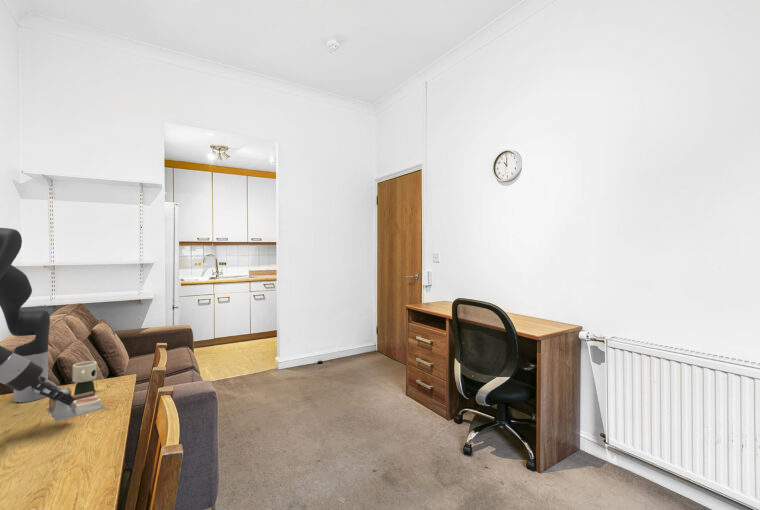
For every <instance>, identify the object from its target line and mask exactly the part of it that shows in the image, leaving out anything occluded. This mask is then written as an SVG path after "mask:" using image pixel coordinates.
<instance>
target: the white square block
mask: <svg viewBox="0 0 760 510" xmlns="http://www.w3.org/2000/svg"><path fill="white" fill-rule="evenodd" d="M101 404H102V399H100V398H99V397H98V396H97V395H95V396H92V397H88V398H84V399H79V400H75V401H73V404H72V410H73V411H74V412H75V413H76V415H79V414H82V415H84V414H83V413H86V412H90V411H94V410H97V411H99V410H98V409H101ZM101 410H102V409H101ZM94 412H95V411H94ZM90 413H91V412H90ZM86 414H87V413H86ZM79 416H80V415H79Z"/></svg>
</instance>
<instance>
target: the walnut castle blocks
mask: <svg viewBox="0 0 760 510" xmlns="http://www.w3.org/2000/svg"><path fill="white" fill-rule="evenodd" d="M64 388H66V389H67V390H68V391H69V392H68V394H70V395H71V396H72V397H73V398H74V399H75V400H79V399H84V398H88V397H92V396H96V392H93V391H92V392H87V393H83V394H79V395H74V394H73V395H72V389H71V388H70V387H69V386H67V387H63V388H61V389H63V390H64ZM75 400H74V401H75ZM48 401H49V402H48V408H49V409H50V410H51V412H53V411H54V409H55V407H56V402H57V401H54V400H53V399H51V398H49V399H48ZM72 404H73V402H72ZM68 406H69V407H70V408H71V404H70V405H68Z"/></svg>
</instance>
